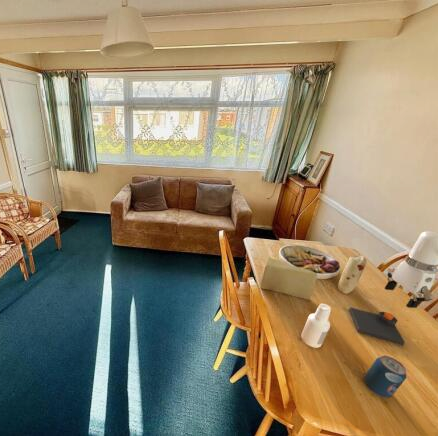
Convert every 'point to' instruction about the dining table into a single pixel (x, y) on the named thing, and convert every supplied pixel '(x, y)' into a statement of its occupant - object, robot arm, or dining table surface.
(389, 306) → the dining table surface
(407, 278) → the robot arm
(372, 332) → the scale
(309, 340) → the white bottle
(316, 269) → the bowl
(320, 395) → the dining table surface
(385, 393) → the soda can
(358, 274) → the food model
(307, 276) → the cheese
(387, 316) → the tare button
